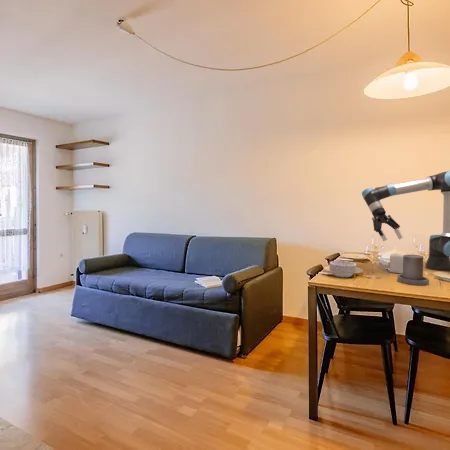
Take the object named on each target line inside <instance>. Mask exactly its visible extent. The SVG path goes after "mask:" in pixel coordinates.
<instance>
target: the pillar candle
mask: <svg viewBox="0 0 450 450" xmlns="http://www.w3.org/2000/svg"><path fill="white" fill-rule="evenodd" d="M402 275H403V278H404V279H410V280H423V277H424V256H423V255H420V254H415V253H413V254H404V255H403V274H402Z"/></svg>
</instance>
